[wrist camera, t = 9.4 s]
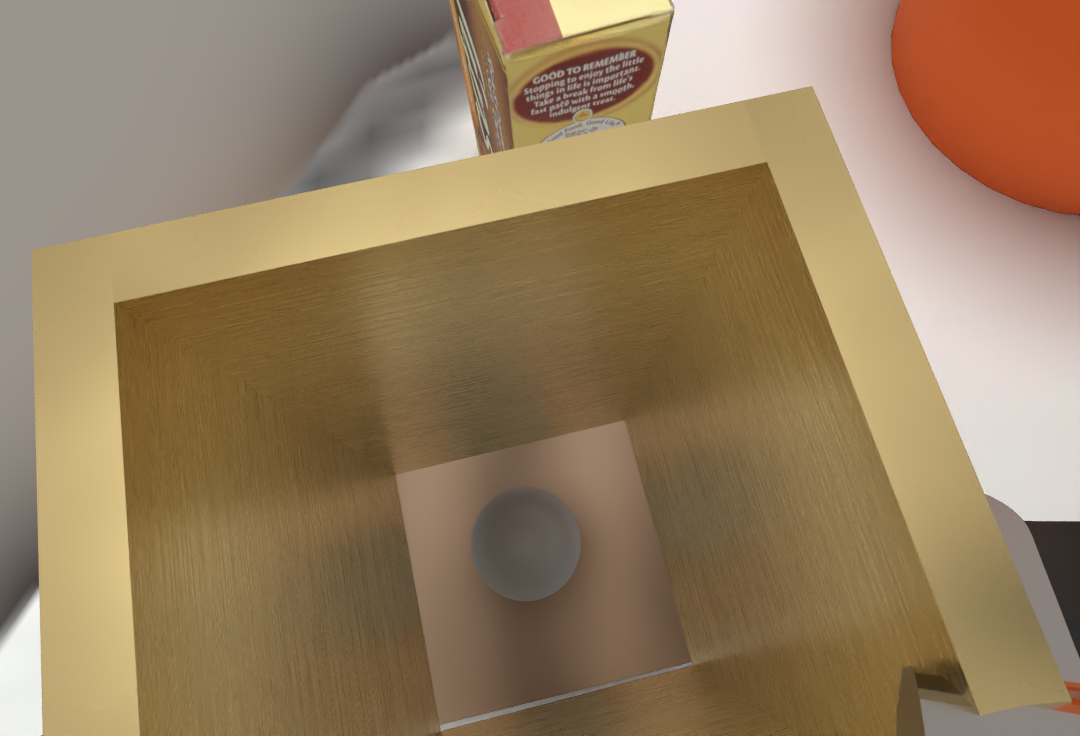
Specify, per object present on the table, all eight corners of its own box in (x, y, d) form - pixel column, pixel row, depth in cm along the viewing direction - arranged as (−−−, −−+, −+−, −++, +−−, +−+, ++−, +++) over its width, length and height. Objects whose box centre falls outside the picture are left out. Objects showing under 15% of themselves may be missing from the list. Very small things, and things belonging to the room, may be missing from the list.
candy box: (618, 289, 29) (693, 6, 14) (525, 317, 29) (501, 58, 14) (556, 122, 31) (564, -269, 17) (469, 146, 31) (398, -230, 16)
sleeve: (642, 389, 15) (812, 86, 6) (730, 689, 13) (1200, 1005, 4) (364, 454, 15) (32, 249, 5) (416, 773, 13) (57, 1355, 3)
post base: (647, 392, 28) (696, 308, 18) (719, 647, 25) (819, 697, 16) (359, 457, 27) (263, 404, 18) (400, 726, 24) (312, 826, 15)
